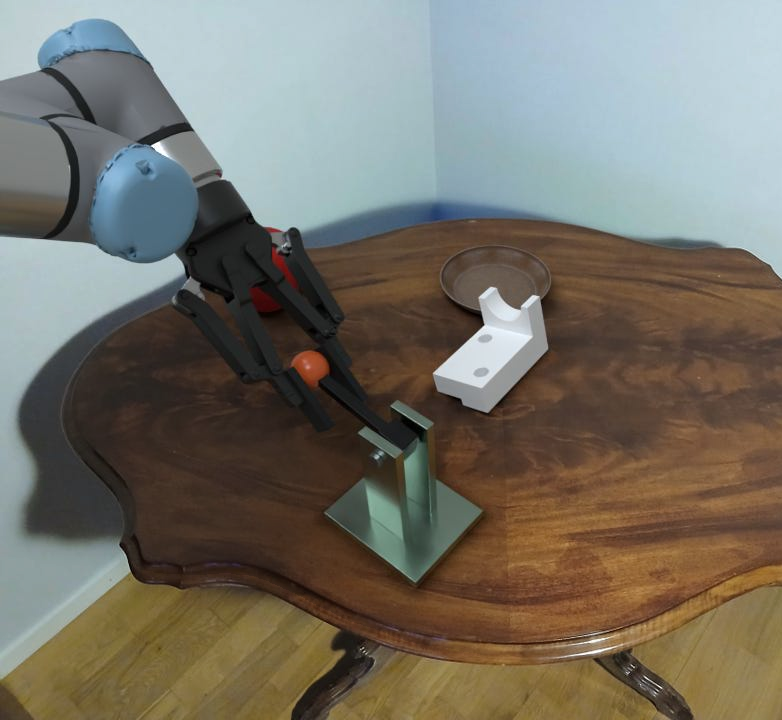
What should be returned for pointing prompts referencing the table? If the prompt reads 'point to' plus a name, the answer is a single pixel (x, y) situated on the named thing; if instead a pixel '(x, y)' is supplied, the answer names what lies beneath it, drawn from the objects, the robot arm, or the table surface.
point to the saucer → (494, 276)
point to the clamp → (403, 503)
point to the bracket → (494, 353)
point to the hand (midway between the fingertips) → (343, 415)
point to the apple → (264, 300)
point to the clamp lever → (352, 401)
